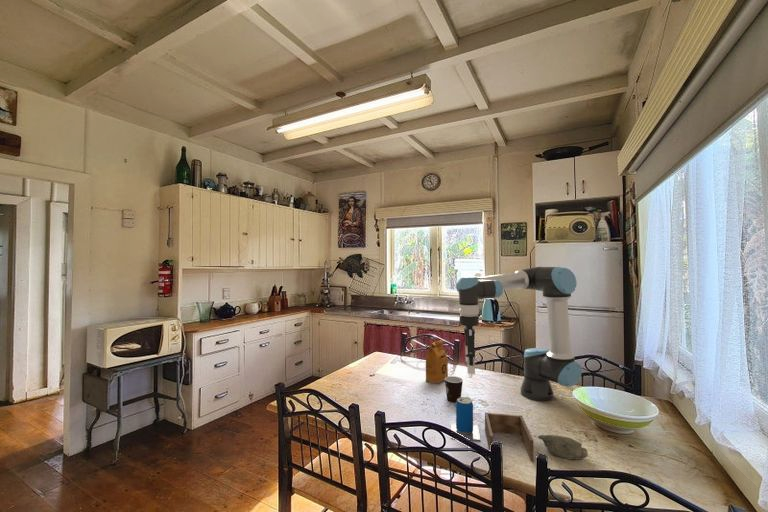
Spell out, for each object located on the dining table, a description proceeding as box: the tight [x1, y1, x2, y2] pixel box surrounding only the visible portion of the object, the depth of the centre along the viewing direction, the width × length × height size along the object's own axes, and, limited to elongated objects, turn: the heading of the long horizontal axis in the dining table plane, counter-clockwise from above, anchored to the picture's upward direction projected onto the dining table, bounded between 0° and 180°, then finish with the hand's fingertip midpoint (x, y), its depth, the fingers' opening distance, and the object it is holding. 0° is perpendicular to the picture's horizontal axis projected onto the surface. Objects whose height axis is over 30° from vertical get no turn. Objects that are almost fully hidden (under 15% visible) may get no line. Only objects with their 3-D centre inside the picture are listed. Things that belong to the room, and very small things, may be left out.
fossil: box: [537, 434, 589, 460], centre depth 116 cm, size 14×10×10 cm
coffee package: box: [425, 339, 449, 384], centre depth 185 cm, size 10×12×22 cm
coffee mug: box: [444, 375, 464, 404], centre depth 161 cm, size 12×9×10 cm
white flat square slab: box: [450, 422, 481, 442], centre depth 130 cm, size 11×11×1 cm
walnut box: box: [484, 411, 534, 462], centre depth 121 cm, size 14×18×7 cm
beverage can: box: [455, 396, 474, 434], centre depth 130 cm, size 6×6×12 cm
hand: (470, 367), depth 133 cm, fingers open, 13 cm apart
